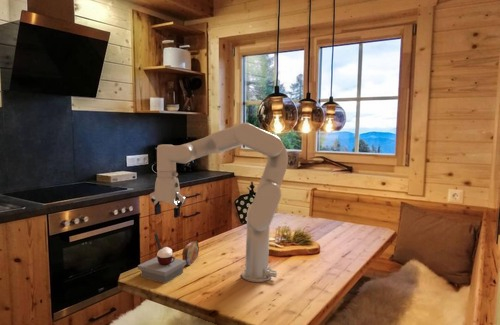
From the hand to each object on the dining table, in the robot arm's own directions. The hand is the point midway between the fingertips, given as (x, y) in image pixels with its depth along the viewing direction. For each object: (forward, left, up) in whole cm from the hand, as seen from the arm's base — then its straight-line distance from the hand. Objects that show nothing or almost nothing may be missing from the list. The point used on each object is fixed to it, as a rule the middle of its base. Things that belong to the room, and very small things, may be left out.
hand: (167, 215), depth 150 cm
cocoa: (0, +1, -20) cm, 20 cm away
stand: (+1, +2, -25) cm, 25 cm away
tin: (-1, -16, -25) cm, 30 cm away
